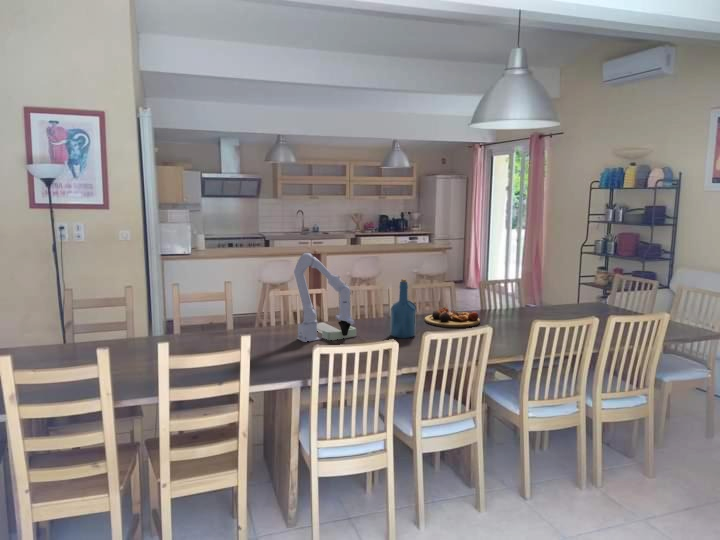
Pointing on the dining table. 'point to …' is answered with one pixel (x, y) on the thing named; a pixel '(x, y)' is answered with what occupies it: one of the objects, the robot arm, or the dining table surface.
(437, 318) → the wooden plate with food
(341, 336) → the end cap
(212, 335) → the dining table surface
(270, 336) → the dining table surface
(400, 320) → the wine bottle
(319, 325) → the baseboard molding
